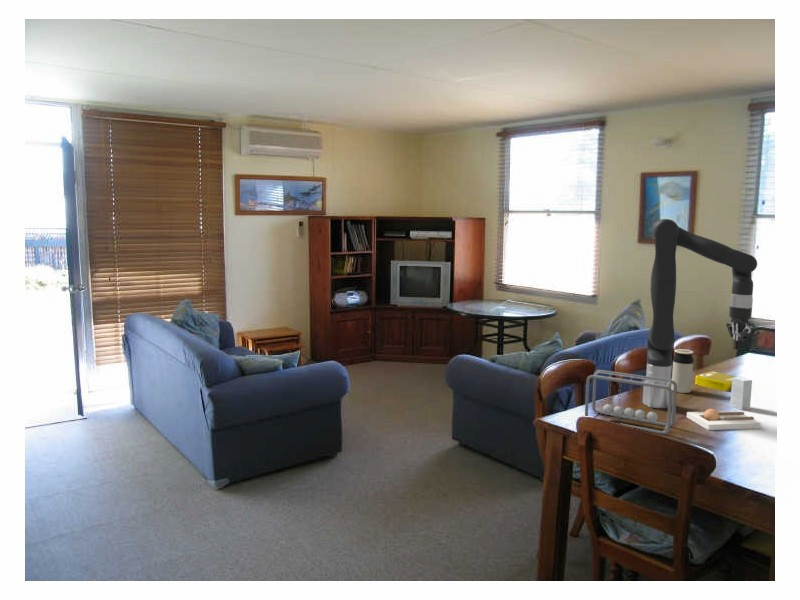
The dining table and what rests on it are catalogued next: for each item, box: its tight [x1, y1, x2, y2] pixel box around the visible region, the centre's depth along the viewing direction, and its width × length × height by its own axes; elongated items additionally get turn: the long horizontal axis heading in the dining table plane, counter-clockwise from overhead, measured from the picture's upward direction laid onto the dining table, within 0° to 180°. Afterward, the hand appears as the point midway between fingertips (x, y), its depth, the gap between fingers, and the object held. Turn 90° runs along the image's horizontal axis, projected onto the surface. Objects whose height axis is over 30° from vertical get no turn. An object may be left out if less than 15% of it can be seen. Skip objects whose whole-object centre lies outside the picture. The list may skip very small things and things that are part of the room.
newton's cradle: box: [584, 369, 678, 435], centre depth 226 cm, size 30×10×18 cm, turn 56°
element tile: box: [694, 370, 737, 392], centre depth 277 cm, size 15×15×5 cm
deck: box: [686, 410, 761, 431], centre depth 228 cm, size 20×14×3 cm
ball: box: [704, 408, 719, 421], centre depth 228 cm, size 5×5×5 cm
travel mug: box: [670, 348, 694, 394], centre depth 267 cm, size 8×8×18 cm
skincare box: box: [729, 376, 753, 411], centre depth 245 cm, size 6×4×12 cm
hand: (737, 349), depth 238 cm, fingers closed
